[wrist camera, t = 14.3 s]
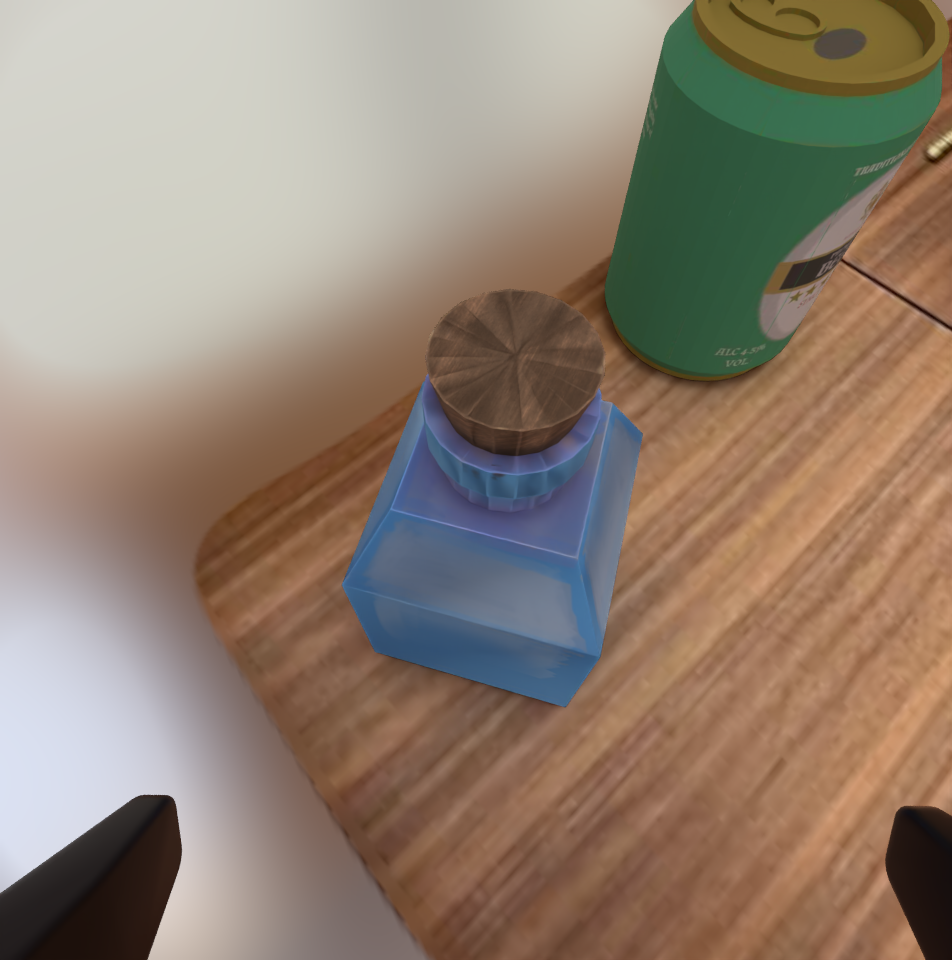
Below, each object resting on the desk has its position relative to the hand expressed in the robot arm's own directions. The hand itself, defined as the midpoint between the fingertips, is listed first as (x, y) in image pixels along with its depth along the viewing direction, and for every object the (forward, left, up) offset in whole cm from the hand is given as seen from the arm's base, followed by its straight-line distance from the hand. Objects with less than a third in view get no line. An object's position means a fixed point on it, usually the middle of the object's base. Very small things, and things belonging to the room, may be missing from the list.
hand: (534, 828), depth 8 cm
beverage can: (+17, +13, -13) cm, 25 cm away
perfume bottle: (+4, +6, -12) cm, 14 cm away
